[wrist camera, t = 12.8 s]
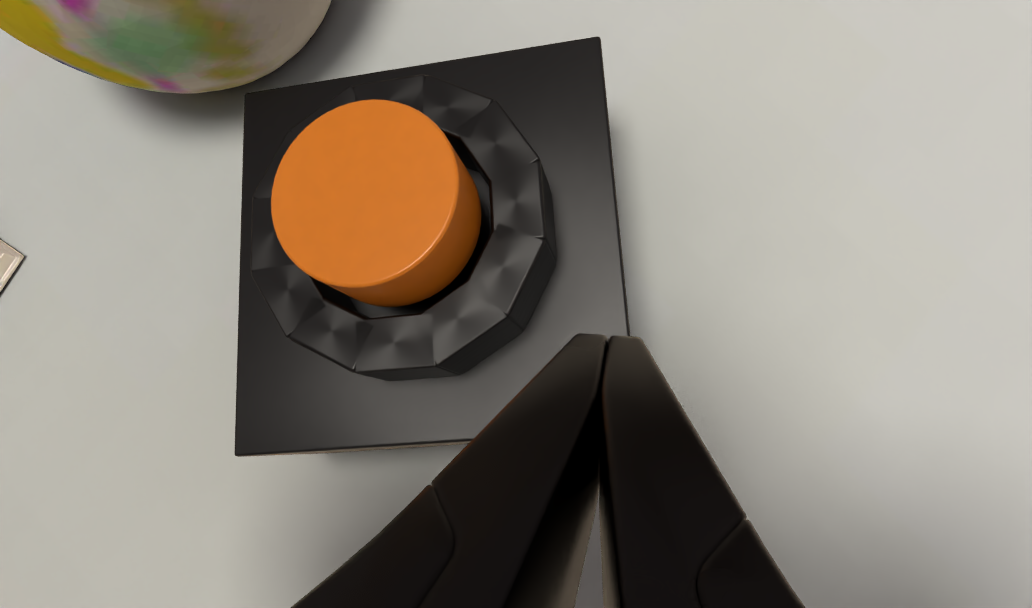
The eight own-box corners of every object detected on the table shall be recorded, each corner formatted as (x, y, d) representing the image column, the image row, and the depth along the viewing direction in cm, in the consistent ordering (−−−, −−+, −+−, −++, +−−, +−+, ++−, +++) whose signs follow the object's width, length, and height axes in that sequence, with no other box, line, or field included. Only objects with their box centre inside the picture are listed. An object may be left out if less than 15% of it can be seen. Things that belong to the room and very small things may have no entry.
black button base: (639, 432, 20) (639, 428, 13) (324, 453, 21) (179, 458, 15) (608, 124, 22) (595, -17, 15) (324, 164, 24) (197, 52, 17)
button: (486, 298, 15) (463, 275, 13) (316, 315, 15) (267, 296, 13) (477, 130, 15) (454, 84, 13) (316, 153, 16) (270, 112, 14)
